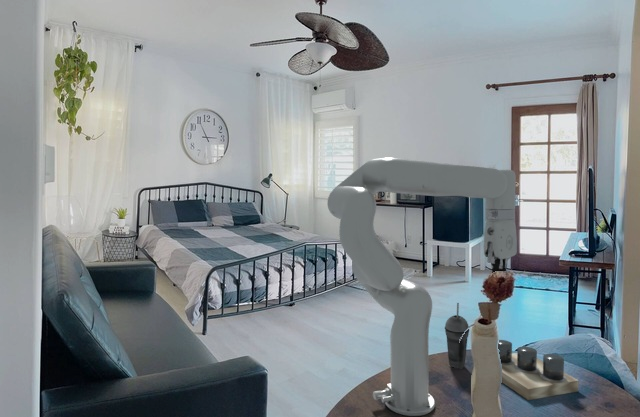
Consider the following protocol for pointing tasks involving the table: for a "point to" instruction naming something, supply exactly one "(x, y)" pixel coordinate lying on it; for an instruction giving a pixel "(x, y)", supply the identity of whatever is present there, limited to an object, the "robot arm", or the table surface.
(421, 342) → the robot arm
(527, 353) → the knob mid
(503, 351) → the knob left
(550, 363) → the knob right
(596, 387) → the table surface
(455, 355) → the beverage cup
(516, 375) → the mount plate
